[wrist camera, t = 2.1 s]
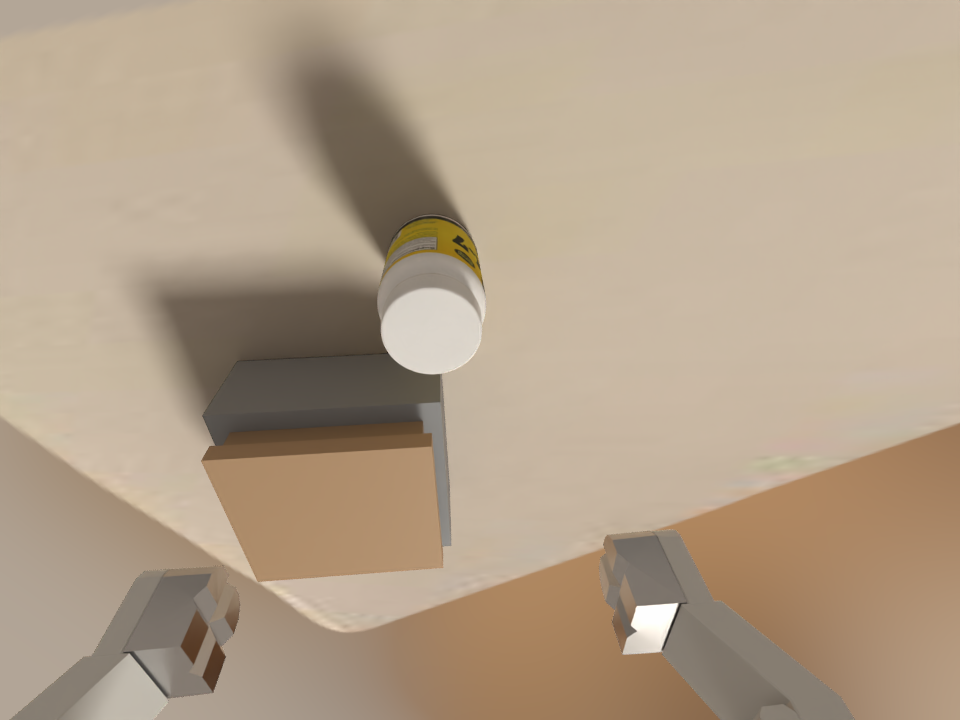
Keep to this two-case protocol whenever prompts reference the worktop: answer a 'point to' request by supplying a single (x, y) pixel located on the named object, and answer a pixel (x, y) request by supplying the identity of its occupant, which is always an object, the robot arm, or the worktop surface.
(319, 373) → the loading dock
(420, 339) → the supplement bottle
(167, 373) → the worktop surface
